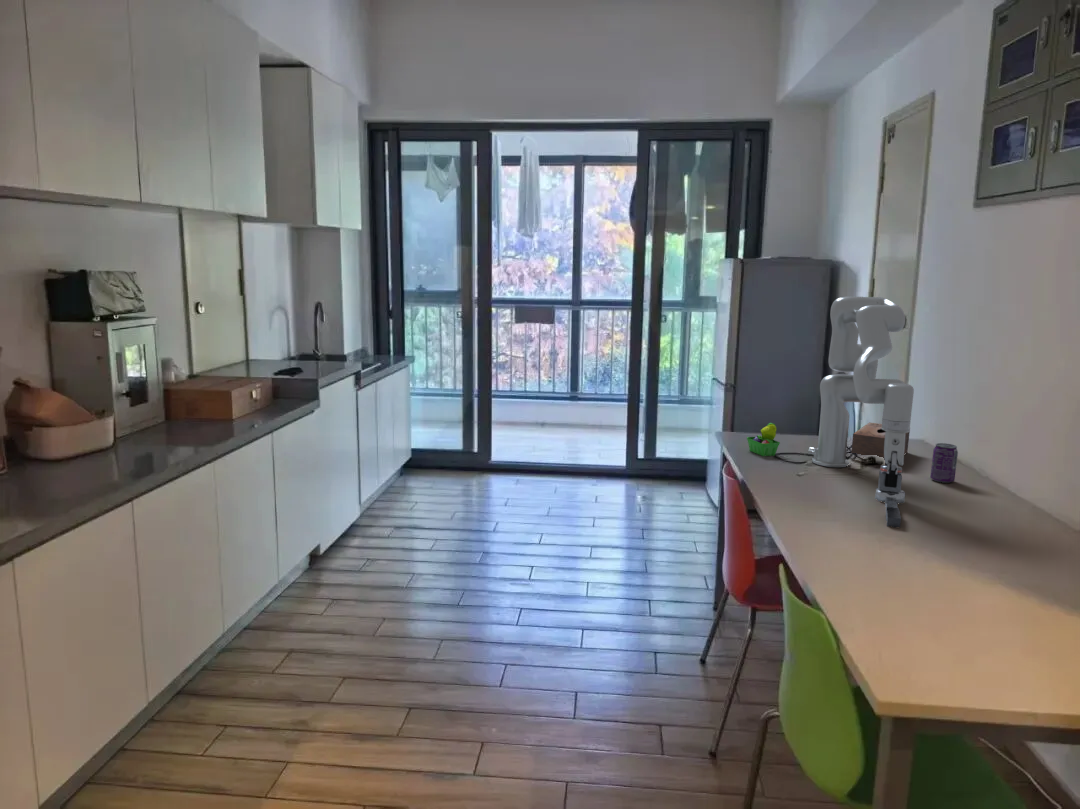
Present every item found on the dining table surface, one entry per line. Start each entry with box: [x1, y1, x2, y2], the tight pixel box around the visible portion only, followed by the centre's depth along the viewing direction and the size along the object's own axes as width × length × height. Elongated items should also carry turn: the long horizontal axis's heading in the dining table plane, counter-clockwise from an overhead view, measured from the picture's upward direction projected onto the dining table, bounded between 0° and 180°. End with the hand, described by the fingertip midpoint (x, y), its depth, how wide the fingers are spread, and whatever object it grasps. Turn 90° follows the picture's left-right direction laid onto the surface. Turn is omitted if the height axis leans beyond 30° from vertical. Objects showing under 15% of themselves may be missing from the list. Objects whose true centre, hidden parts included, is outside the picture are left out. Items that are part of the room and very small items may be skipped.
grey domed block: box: [877, 465, 903, 492], centre depth 230 cm, size 6×6×7 cm
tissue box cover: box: [850, 422, 911, 458], centre depth 284 cm, size 26×14×10 cm, turn 145°
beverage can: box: [930, 442, 959, 484], centre depth 252 cm, size 7×7×12 cm
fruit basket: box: [746, 422, 781, 457], centre depth 285 cm, size 11×9×11 cm
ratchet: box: [874, 487, 906, 528], centre depth 220 cm, size 30×8×6 cm, turn 158°
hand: (889, 483), depth 230 cm, fingers open, 7 cm apart
